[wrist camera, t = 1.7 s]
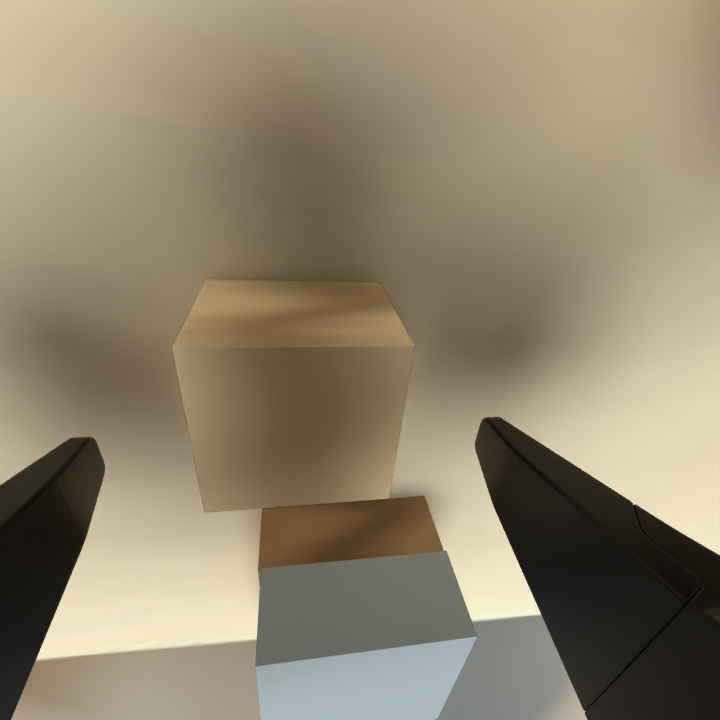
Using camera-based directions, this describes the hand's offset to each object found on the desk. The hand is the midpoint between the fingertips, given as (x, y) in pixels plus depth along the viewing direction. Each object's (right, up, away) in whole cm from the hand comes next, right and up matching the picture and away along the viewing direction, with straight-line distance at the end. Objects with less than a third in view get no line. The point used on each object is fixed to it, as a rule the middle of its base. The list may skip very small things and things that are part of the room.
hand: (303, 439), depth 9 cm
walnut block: (0, -7, +10) cm, 12 cm away
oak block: (-1, +2, +4) cm, 4 cm away
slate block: (+1, -9, +7) cm, 11 cm away
